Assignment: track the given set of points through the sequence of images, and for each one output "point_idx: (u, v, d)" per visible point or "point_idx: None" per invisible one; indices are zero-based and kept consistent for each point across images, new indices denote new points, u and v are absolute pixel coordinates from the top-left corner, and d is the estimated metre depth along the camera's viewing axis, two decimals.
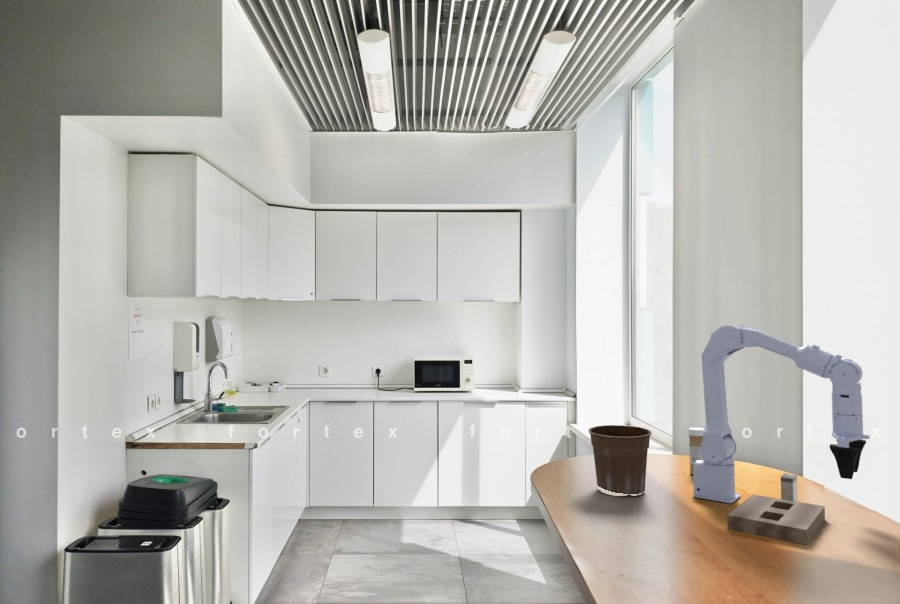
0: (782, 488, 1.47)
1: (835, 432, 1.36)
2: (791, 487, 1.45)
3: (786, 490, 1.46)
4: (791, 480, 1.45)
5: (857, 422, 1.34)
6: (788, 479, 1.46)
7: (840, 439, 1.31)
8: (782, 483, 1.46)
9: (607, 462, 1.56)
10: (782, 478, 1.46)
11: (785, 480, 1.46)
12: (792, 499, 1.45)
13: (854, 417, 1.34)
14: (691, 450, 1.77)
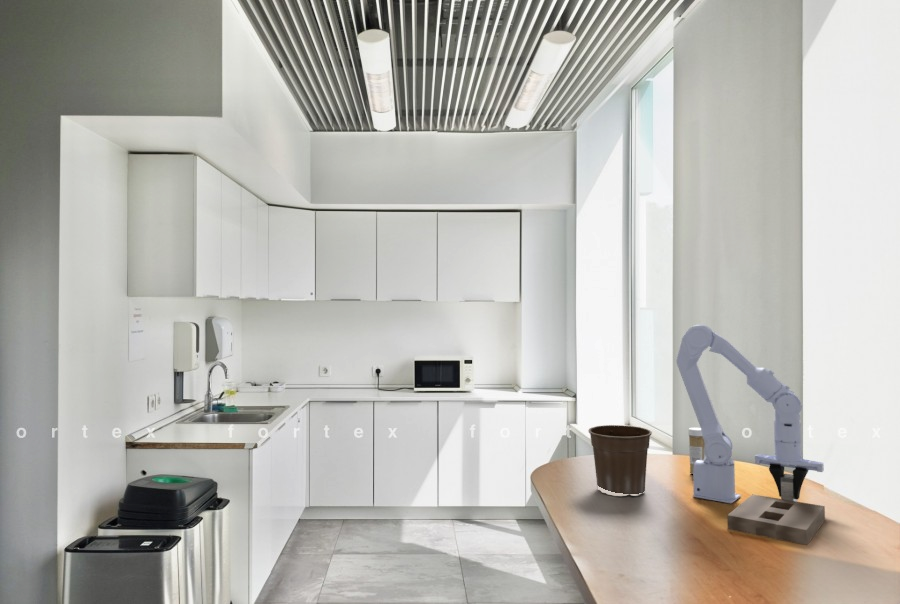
0: (782, 488, 1.47)
1: None
2: (791, 487, 1.45)
3: (786, 490, 1.46)
4: (791, 480, 1.45)
5: (777, 447, 1.47)
6: (788, 479, 1.46)
7: None
8: (782, 483, 1.46)
9: (607, 462, 1.56)
10: (782, 478, 1.46)
11: (785, 480, 1.46)
12: (792, 499, 1.45)
13: (775, 442, 1.48)
14: (691, 450, 1.77)
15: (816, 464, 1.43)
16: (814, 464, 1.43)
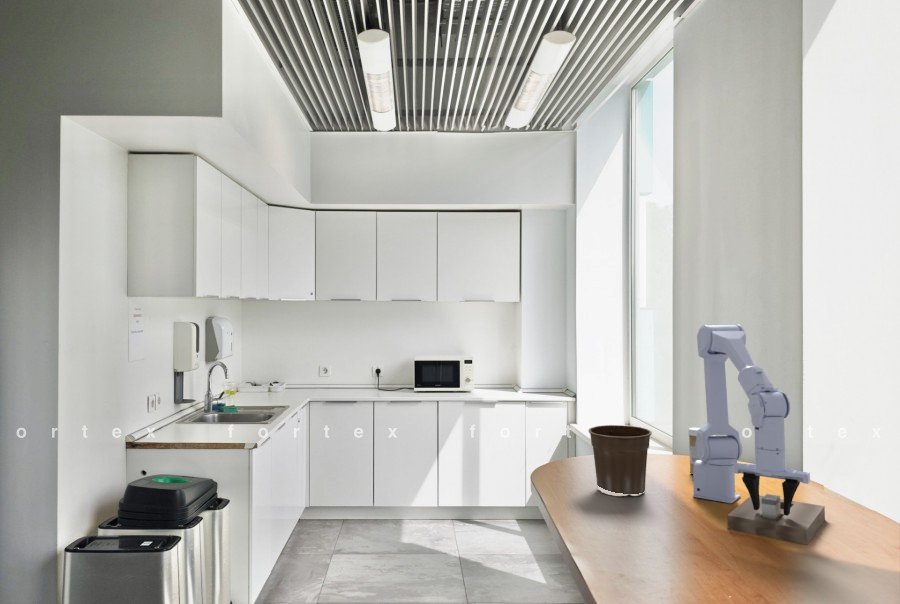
0: (763, 511, 1.29)
1: None
2: (773, 510, 1.28)
3: (767, 514, 1.29)
4: (773, 502, 1.28)
5: (758, 455, 1.30)
6: (770, 501, 1.28)
7: None
8: (763, 505, 1.29)
9: (607, 462, 1.56)
10: (763, 500, 1.29)
11: (767, 502, 1.29)
12: None
13: (756, 449, 1.31)
14: (691, 450, 1.77)
15: (801, 474, 1.26)
16: (799, 474, 1.26)
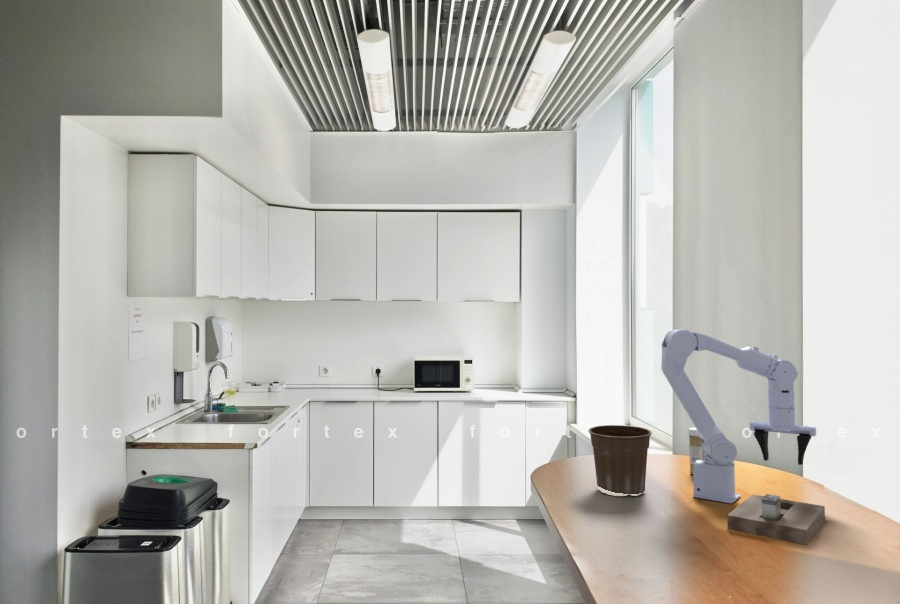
0: (763, 511, 1.29)
1: None
2: (773, 510, 1.28)
3: (767, 514, 1.29)
4: (773, 502, 1.28)
5: (771, 413, 1.52)
6: (770, 501, 1.28)
7: None
8: (763, 505, 1.29)
9: (607, 462, 1.56)
10: (763, 500, 1.29)
11: (767, 502, 1.29)
12: None
13: (769, 408, 1.53)
14: (691, 450, 1.77)
15: (809, 429, 1.48)
16: (807, 429, 1.48)
